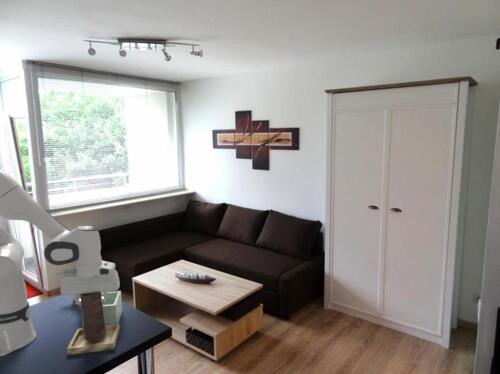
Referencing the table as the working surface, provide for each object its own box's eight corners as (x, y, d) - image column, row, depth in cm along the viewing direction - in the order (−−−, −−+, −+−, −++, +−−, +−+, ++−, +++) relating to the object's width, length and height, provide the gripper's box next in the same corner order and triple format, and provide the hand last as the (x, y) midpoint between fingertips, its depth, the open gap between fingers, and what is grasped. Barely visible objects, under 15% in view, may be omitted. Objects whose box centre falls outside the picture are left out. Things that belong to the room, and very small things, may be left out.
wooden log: (97, 345, 125) (92, 295, 122) (80, 343, 127) (75, 294, 124) (109, 333, 133) (105, 286, 130) (93, 332, 134) (88, 285, 131)
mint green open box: (83, 331, 137) (81, 308, 135) (91, 314, 149) (89, 293, 148) (117, 327, 139) (115, 305, 138) (122, 311, 152) (120, 291, 151)
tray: (67, 355, 122) (67, 348, 122) (78, 334, 135) (77, 328, 134) (114, 349, 125) (113, 343, 125) (120, 329, 138) (119, 324, 137)
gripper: (56, 274, 120) (59, 309, 122) (116, 269, 124) (118, 304, 126) (62, 267, 126) (65, 301, 128) (119, 263, 130) (121, 296, 133)
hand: (92, 303), depth 127 cm, fingers closed on wooden log, 7 cm apart
